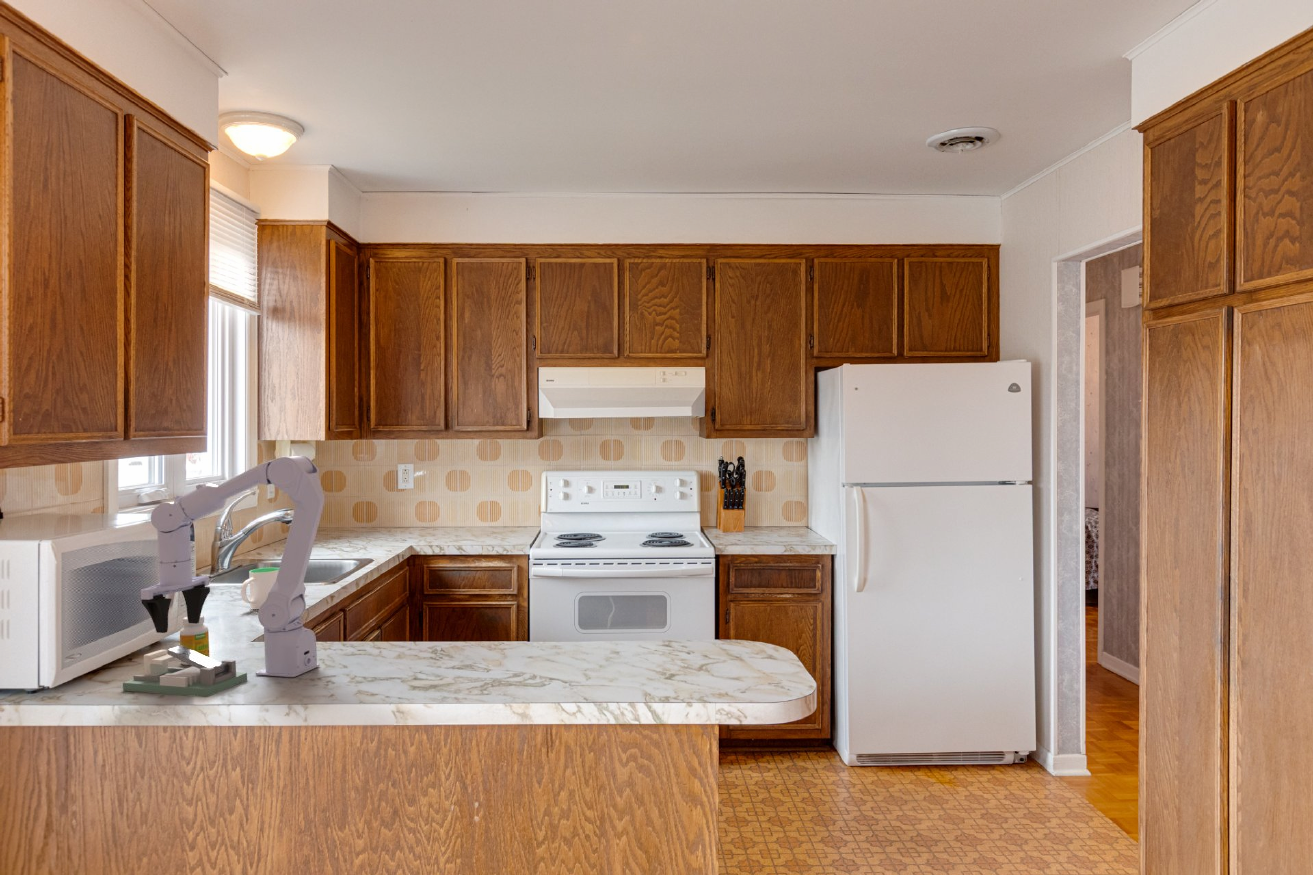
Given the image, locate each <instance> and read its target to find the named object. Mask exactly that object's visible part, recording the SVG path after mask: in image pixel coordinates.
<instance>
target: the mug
mask: <svg viewBox="0 0 1313 875" xmlns="http://www.w3.org/2000/svg"><path fill="white" fill-rule="evenodd" d="M278 571H279V567H261V568H255V569H251V570H249V571H248V573H249V574H248V577H249V578H248V579H246V580H244V581H243V583H242V585H241V590H240V594H241V600H242V601H243V602H244V603H246V604H249V605H250V606H249V607H250V609H251V608H252V609H251V610H253V609H260V607H261V605H262V604H263V603H264V602H265V601H266V599H267V597H268V593H269V591H270V589H271V588H272V586H273V585H274V583H275V581H276V579H277V575H278ZM248 586H249V598H250V599H248V596H247V587H248Z"/></svg>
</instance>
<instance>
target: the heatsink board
mask: <svg viewBox="0 0 1313 875" xmlns="http://www.w3.org/2000/svg"><path fill="white" fill-rule="evenodd" d="M225 662H226V663H228V665H229V670H228V671H227V672H224V673H222V674H219V675H216V676H215V670H214V668H201V669H198V668H196V667H194V666H190V667H186V668H185V667H174V666H168V673H165V674H162V675H159V676H146V675H144V674H135V675H133V676H132V677H133V679H129V680H126V681H124V682H122V691H125V692H126V691H127V692H138V693H139V692H140V693H151V694H163V695H164V694H165V695H174V696H175V695H178V696H191V697H199V698H200V697H203V698H204V697H205V698H209V697H210V696H213V695H215V694H218V693H220V692H222V691H225V690H227V689H230V688H232V687H235V686H237V685H240V684H241V683H244V682H247V681H248V673H247V672H242V671H241V672H239V671H237V669H236V668H237V665H236V664H237V662H236V660H234V659H224V660H221V662H220V663H221V664H222V663H225Z"/></svg>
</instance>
